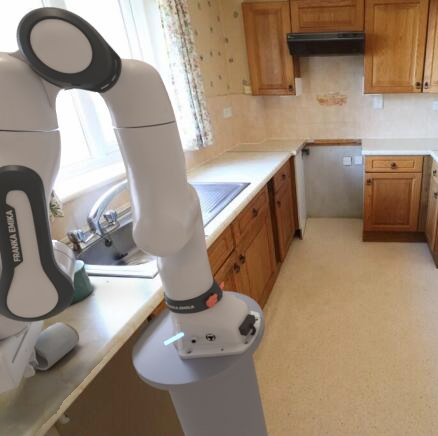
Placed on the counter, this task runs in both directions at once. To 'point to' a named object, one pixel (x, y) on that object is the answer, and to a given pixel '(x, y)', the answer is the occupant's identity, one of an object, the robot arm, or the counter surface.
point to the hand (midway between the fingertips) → (31, 371)
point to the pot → (81, 286)
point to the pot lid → (78, 266)
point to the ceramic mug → (54, 344)
